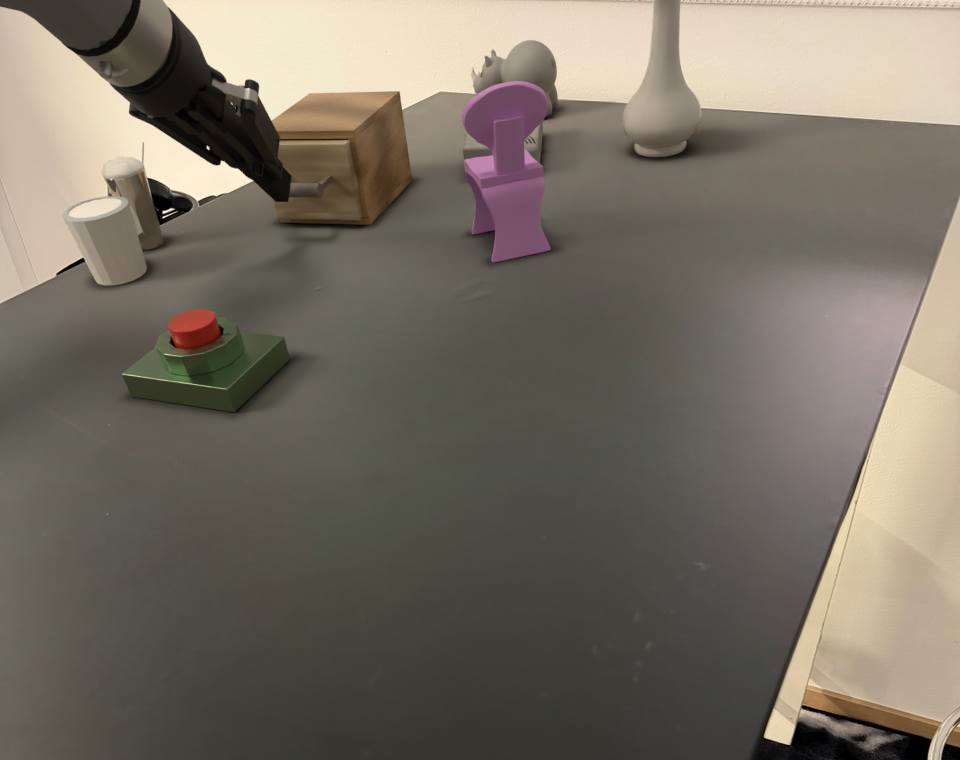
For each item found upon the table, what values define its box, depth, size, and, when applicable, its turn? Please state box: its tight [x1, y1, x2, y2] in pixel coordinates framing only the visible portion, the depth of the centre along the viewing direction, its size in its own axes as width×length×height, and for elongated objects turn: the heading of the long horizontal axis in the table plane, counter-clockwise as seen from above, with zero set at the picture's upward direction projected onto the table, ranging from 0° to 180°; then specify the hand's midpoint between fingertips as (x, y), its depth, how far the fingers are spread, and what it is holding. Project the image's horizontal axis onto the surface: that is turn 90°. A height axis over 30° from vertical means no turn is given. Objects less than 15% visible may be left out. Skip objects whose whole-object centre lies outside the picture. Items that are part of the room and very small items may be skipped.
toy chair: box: [461, 81, 552, 263], centre depth 86 cm, size 8×9×15 cm
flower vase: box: [621, 0, 703, 158], centre depth 97 cm, size 13×18×25 cm
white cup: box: [61, 195, 148, 286], centre depth 93 cm, size 7×7×7 cm
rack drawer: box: [272, 139, 364, 220], centre depth 98 cm, size 17×10×8 cm, turn 162°
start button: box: [167, 308, 221, 349], centre depth 74 cm, size 4×4×2 cm
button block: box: [121, 316, 291, 413], centre depth 75 cm, size 11×9×4 cm
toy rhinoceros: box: [470, 39, 559, 118], centre depth 118 cm, size 7×12×8 cm, turn 72°
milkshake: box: [101, 141, 165, 251], centre depth 97 cm, size 4×5×10 cm
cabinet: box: [271, 90, 413, 226], centre depth 101 cm, size 14×12×10 cm
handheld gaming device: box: [462, 120, 544, 164], centre depth 108 cm, size 9×15×4 cm, turn 175°
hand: (283, 188), depth 91 cm, fingers closed
